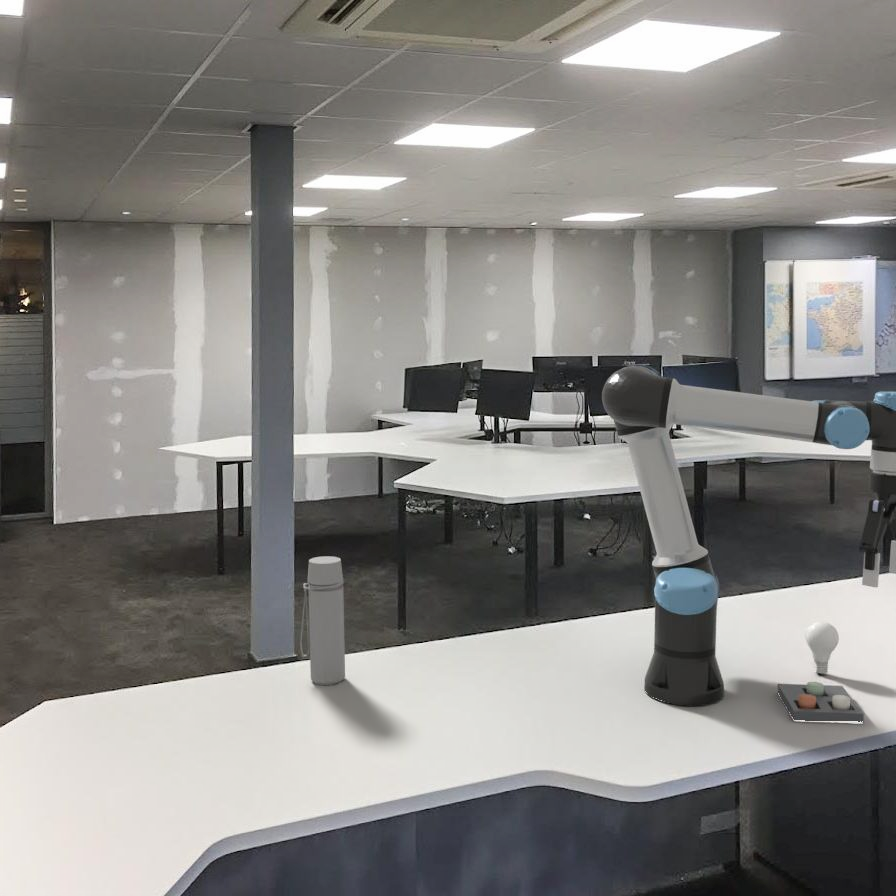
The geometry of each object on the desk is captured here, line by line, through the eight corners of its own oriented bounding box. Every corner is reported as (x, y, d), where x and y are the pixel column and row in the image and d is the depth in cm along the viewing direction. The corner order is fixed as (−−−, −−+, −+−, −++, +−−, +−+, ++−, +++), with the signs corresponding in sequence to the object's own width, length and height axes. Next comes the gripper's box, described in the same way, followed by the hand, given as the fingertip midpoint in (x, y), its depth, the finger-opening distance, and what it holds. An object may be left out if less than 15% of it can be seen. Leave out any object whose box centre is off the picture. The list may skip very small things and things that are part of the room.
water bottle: (349, 673, 206) (347, 555, 203) (341, 687, 198) (339, 565, 195) (306, 672, 207) (302, 555, 204) (296, 686, 199) (293, 564, 196)
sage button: (808, 697, 187) (809, 687, 186) (804, 692, 190) (805, 681, 189) (825, 698, 186) (825, 687, 186) (821, 692, 189) (821, 682, 189)
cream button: (834, 711, 180) (834, 700, 180) (830, 705, 183) (830, 694, 183) (851, 712, 180) (852, 701, 179) (847, 706, 182) (847, 695, 182)
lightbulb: (841, 679, 200) (844, 626, 199) (810, 679, 200) (812, 626, 199) (830, 668, 206) (832, 617, 205) (799, 668, 206) (801, 617, 205)
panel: (794, 721, 179) (794, 711, 179) (777, 693, 193) (777, 683, 192) (863, 724, 178) (863, 713, 177) (841, 695, 191) (842, 685, 191)
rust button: (800, 710, 181) (800, 699, 180) (796, 704, 184) (796, 693, 183) (817, 711, 180) (817, 700, 180) (813, 704, 183) (813, 693, 183)
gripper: (886, 481, 179) (878, 595, 182) (933, 467, 197) (926, 572, 200) (845, 476, 185) (838, 587, 187) (895, 463, 202) (888, 565, 205)
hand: (883, 579), depth 194 cm, fingers open, 13 cm apart
